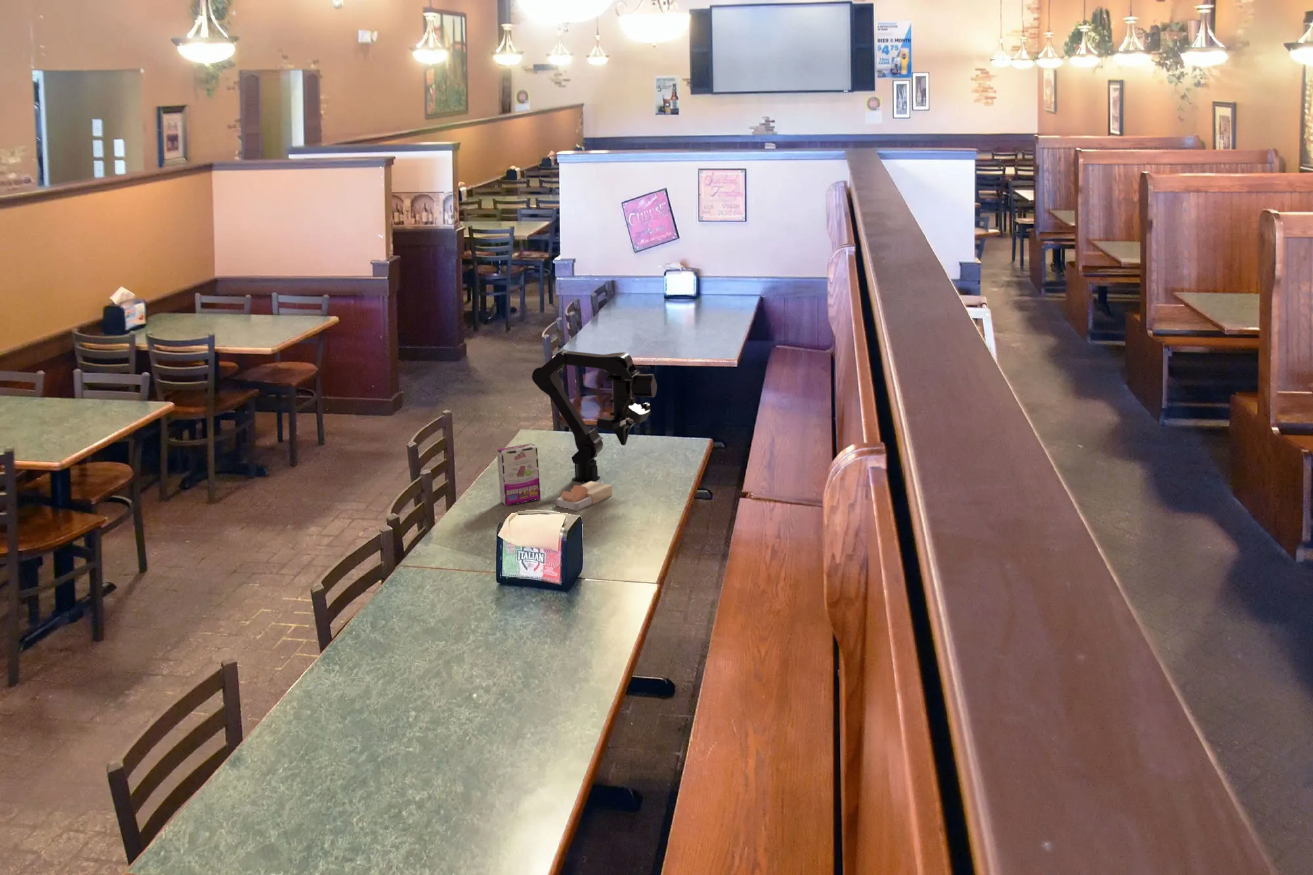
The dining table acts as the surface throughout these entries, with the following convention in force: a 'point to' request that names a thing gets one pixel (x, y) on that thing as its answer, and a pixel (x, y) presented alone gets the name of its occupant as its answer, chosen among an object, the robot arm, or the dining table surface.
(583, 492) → the tile rear
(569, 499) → the tile front
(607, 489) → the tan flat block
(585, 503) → the tray
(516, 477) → the candy bar box
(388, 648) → the dining table surface
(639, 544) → the dining table surface
